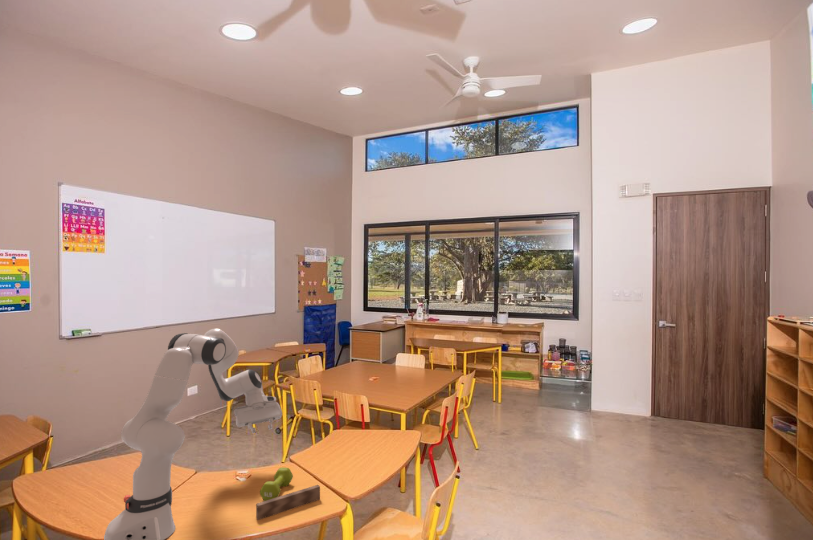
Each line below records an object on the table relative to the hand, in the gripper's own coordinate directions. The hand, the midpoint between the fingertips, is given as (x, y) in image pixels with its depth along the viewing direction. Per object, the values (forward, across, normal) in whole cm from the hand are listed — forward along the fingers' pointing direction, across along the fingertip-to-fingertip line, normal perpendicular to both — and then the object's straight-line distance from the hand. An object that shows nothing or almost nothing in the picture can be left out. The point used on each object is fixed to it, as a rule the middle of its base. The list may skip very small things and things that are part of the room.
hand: (262, 430), depth 186 cm
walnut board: (+39, 0, -11) cm, 40 cm away
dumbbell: (+28, 0, 0) cm, 28 cm away
